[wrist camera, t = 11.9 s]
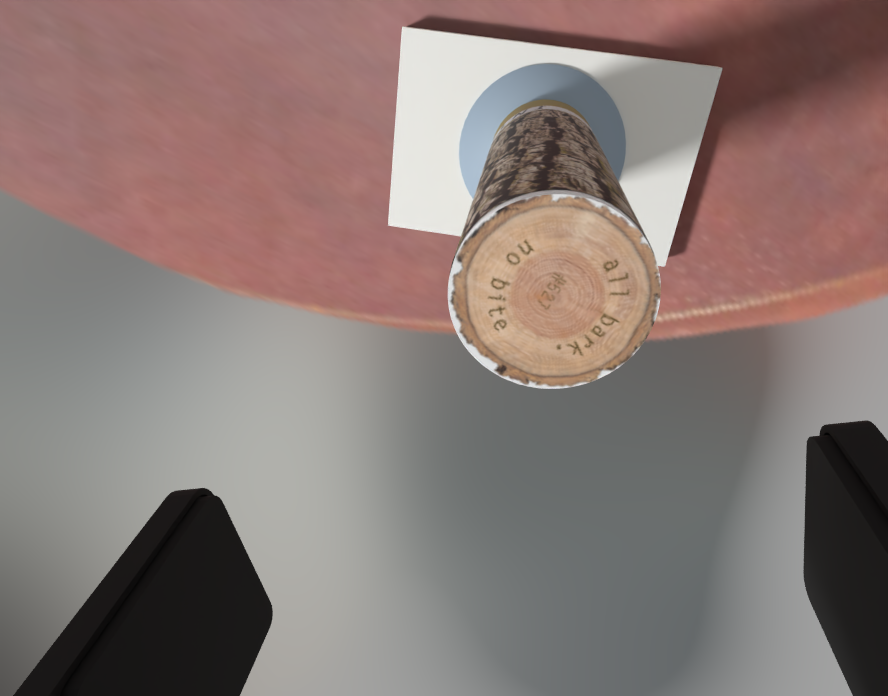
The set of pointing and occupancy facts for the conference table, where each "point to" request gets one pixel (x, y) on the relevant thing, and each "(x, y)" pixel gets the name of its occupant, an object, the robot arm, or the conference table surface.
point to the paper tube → (551, 257)
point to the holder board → (535, 78)
